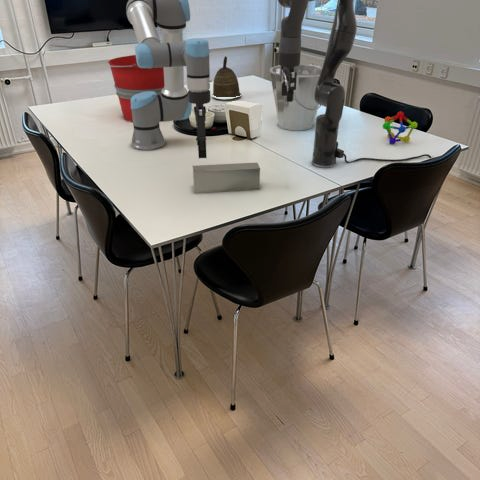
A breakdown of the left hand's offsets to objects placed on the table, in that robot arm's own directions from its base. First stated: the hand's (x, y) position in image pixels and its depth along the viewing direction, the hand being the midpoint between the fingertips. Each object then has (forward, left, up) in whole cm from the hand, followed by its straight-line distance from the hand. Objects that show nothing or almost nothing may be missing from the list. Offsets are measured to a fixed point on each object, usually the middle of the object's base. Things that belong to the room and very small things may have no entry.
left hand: (201, 151), depth 158 cm
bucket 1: (-90, -50, -15) cm, 104 cm away
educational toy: (-62, +81, -15) cm, 103 cm away
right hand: (-16, +29, +15) cm, 37 cm away
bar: (-3, +8, -15) cm, 18 cm away
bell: (-135, -11, -15) cm, 137 cm away
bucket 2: (-83, +33, -15) cm, 91 cm away
